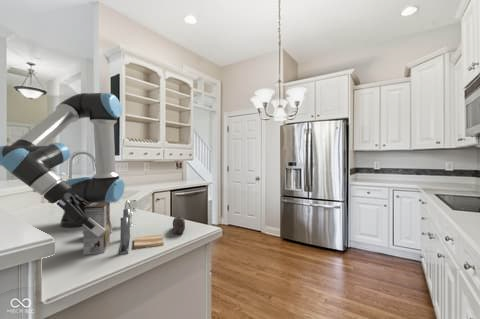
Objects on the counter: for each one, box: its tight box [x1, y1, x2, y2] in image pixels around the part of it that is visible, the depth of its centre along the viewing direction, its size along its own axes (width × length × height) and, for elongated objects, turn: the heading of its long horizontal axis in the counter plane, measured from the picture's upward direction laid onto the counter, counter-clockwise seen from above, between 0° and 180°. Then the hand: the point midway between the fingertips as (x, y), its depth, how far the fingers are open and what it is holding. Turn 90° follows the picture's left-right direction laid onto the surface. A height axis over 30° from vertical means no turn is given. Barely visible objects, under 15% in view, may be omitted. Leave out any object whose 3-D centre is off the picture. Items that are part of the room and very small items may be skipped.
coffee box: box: [82, 202, 111, 256], centre depth 82 cm, size 9×6×16 cm
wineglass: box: [124, 199, 139, 228], centre depth 112 cm, size 6×6×12 cm
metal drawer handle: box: [119, 208, 131, 256], centre depth 85 cm, size 17×2×12 cm, turn 24°
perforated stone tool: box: [172, 215, 186, 235], centre depth 104 cm, size 15×5×7 cm, turn 15°
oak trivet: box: [133, 234, 165, 250], centre depth 89 cm, size 10×10×1 cm
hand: (104, 228), depth 83 cm, fingers open, 12 cm apart
